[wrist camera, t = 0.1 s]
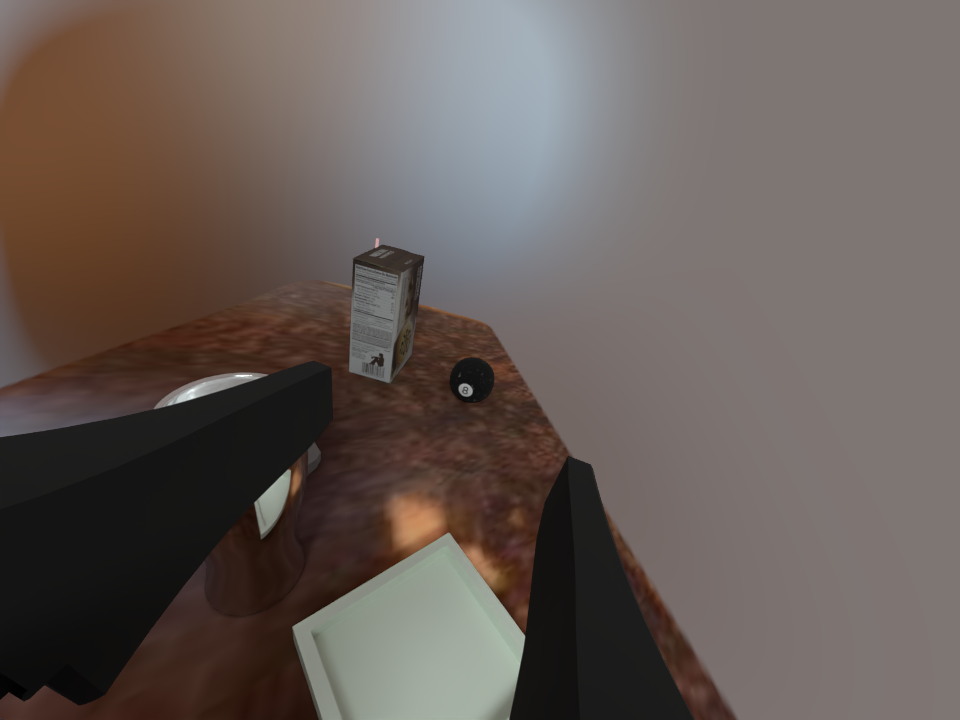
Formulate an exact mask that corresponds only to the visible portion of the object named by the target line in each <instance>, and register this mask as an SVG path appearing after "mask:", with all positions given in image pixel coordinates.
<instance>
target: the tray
mask: <svg viewBox="0 0 960 720" xmlns="http://www.w3.org/2000/svg"><path fill="white" fill-rule="evenodd" d="M292 628H293V640H294V643H295V646H296V649H297V652H298V655H299V659H300V662H301V665H302V668H303V671H304V674H305V677H306V680H307V683H308V687H309V690H310V693H311V696H312V699H313V702H314V705H315V708H316V712H317V715H318V718H319V720H509V718H510V713H511V708H512V704H513V699H514V694H515V689H516V684H517V679H518V674H519V669H520V664H521V659H522V654H523V648H524V641H525V635H524V634H523V633H522V631H521V630H520V629H519V627H518V626H517V624H516V623H515V622H514V620H513V619H512V618H511V616H510V615H509V614H508V612H507V611H506V609H505V608H504V607H503V605H502V604H501V603H500V601H499V600H498V599H497V597H496V596H495V594H494V593H493V592H492V590H491V589H490V588H489V586H488V585H487V584H486V582H485V581H484V579H483V578H482V577H481V575H480V574H479V573H478V571H477V570H476V568H475V567H474V566H473V564H472V563H471V562H470V560H469V559H468V558H467V556H466V555H465V553H464V552H463V551H462V549H461V548H460V547H459V545H458V544H457V543H456V541H455V540H454V538H453V537H452V536H451V534H450V533H447V534H445V535H444V536H442V537H440V538H439V539H437V540H435V541H434V542H432V543H431V544H429V545H427V546H426V547H424V548H422V549H421V550H419V551H417V552H416V553H414V554H412V555H411V556H409V557H407V558H406V559H404V560H402V561H401V562H399V563H397V564H396V565H394V566H392V567H391V568H389V569H387V570H386V571H384V572H382V573H381V574H379V575H377V576H376V577H374V578H372V579H371V580H369V581H368V582H366V583H364V584H363V585H361V586H359V587H358V588H356V589H354V590H353V591H351V592H349V593H348V594H346V595H344V596H343V597H341V598H339V599H338V600H336V601H334V602H333V603H331V604H329V605H328V606H326V607H324V608H323V609H321V610H319V611H318V612H316V613H314V614H313V615H311V616H309V617H308V618H306V619H304V620H303V621H301V622H300V623H298V624H296V625H295V626H293V627H292Z"/></svg>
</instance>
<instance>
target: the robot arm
mask: <svg viewBox="0 0 960 720" xmlns="http://www.w3.org/2000/svg"><path fill="white" fill-rule="evenodd" d="M332 419H333V406H332V375H331V367H329V366H326V365H323V364H321V363H318V362H315V361H311V362H307V363H304V364H301V365H297V366H294V367H291V368H288V369H285V370H282V371H279V372H276V373H273V374H270V375H267V376H264V377H261V378H258V379H255V380H252V381H249V382H246V383H243V384H240V385H237V386H234V387H231V388H228V389H224V390H221V391H218V392H214V393H211V394H208V395H204V396H201V397H197V398H194V399H191V400H187V401H184V402H180V403H177V404H173V405H169V406H165V407H161V408H157V409H153V410H149V411H144V412H140V413H136V414H131V415H127V416H123V417H118V418H113V419H108V420H102V421H97V422H92V423H86V424H81V425H75V426H70V427H65V428H59V429H54V430H47V431H41V432H34V433H28V434H21V435H14V436H7V437H0V699H2V698H3V697H4V696H5V695H6V694H7V693H8V692H9V693H11V694H13V695H14V696H16V697H18V698H19V699H21V700H23V701H26V700H28V699H30V698H31V697H32V696H33V695H34V694H35V693H36V692H37V691H38V690H40V689H41V688H42V687H43V686H44V685H45V686H47V687H49V688H50V689H52V690H54V691H55V692H57V693H59V694H60V695H62V696H64V697H65V698H67V699H69V700H71V701H72V702H74V703H76V704H77V705H83V704H87V703H89V702H91V701H94V700H96V699H98V698H100V697H102V696H103V695H105V694H106V692H107V691H108V690H109V688H110V687H111V685H112V684H113V682H114V681H115V679H116V678H117V676H118V675H119V673H120V672H121V671H122V669H123V668H124V666H125V665H126V664H127V662H128V661H129V659H130V658H131V657H132V655H133V654H134V652H135V651H136V650H137V648H138V647H139V645H140V644H141V642H142V641H143V640H144V638H145V637H146V635H147V634H148V633H149V631H150V630H151V628H152V627H153V626H154V625H155V623H156V622H157V621H158V619H159V618H160V617H161V615H162V614H163V613H164V611H165V610H166V609H167V607H168V606H169V605H170V603H171V602H172V601H173V599H174V598H175V597H176V595H177V594H178V593H179V591H180V590H181V589H182V587H183V586H184V585H185V584H186V582H187V581H188V580H189V579H190V577H191V576H192V575H193V574H194V572H195V571H196V570H197V569H198V567H199V566H200V565H201V564H202V563H203V561H204V560H205V559H206V558H207V556H208V555H209V554H210V553H211V551H212V550H213V549H214V548H215V547H216V545H217V544H218V543H219V542H220V541H221V539H222V538H223V537H224V536H225V535H226V534H227V532H228V531H229V530H230V529H231V528H232V526H233V525H234V524H235V523H236V522H237V521H238V519H239V518H240V517H241V516H242V515H243V514H244V513H245V512H246V511H247V510H248V509H249V508H250V507H251V506H252V505H253V504H254V503H255V502H256V501H257V500H258V499H259V498H260V497H261V496H262V495H263V494H264V493H265V492H266V491H267V490H268V489H269V488H270V487H271V486H272V485H273V484H274V483H275V482H276V481H277V480H278V479H279V478H280V477H281V476H282V475H283V474H284V473H285V472H286V471H287V470H288V469H289V468H290V467H291V466H292V465H293V464H294V463H295V462H296V461H297V460H298V459H299V458H300V457H301V456H302V455H303V454H304V453H305V452H306V451H307V450H308V449H309V448H310V447H311V446H312V445H313V443H314V442H315V441H316V440H317V438H318V437H319V436H320V435H321V433H322V432H323V431H324V429H325V428H326V427H327V425H328V424H329V423H330V421H331V420H332ZM0 720H2V719H0ZM509 720H695V719H694V717H693V715H692V713H691V712H690V710H689V708H688V706H687V704H686V702H685V701H684V699H683V697H682V695H681V693H680V691H679V689H678V687H677V685H676V683H675V681H674V679H673V677H672V675H671V673H670V671H669V669H668V667H667V665H666V663H665V661H664V659H663V657H662V655H661V653H660V651H659V649H658V646H657V644H656V642H655V640H654V638H653V636H652V633H651V631H650V629H649V627H648V625H647V623H646V620H645V618H644V616H643V613H642V611H641V609H640V607H639V604H638V602H637V599H636V597H635V595H634V592H633V590H632V587H631V585H630V582H629V580H628V577H627V575H626V572H625V569H624V567H623V564H622V561H621V559H620V556H619V553H618V550H617V547H616V544H615V542H614V539H613V536H612V533H611V530H610V527H609V524H608V521H607V518H606V515H605V511H604V508H603V504H602V501H601V498H600V494H599V491H598V487H597V483H596V479H595V475H594V472H593V468H592V466H591V465H590V464H588V463H585V462H583V461H580V460H577V459H575V458H572V457H569V456H568V457H567V459H566V461H565V463H564V465H563V467H562V469H561V471H560V473H559V475H558V477H557V479H556V481H555V483H554V485H553V487H552V489H551V491H550V493H549V495H548V497H547V499H546V501H545V504H544V508H543V513H542V517H541V521H540V526H539V530H538V535H537V540H536V548H535V557H534V565H533V574H532V583H531V592H530V601H529V610H528V618H527V627H526V634H525V641H524V648H523V654H522V659H521V664H520V669H519V674H518V679H517V684H516V689H515V694H514V699H513V704H512V708H511V713H510V718H509Z"/></svg>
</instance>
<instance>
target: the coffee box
mask: <svg viewBox="0 0 960 720" xmlns="http://www.w3.org/2000/svg"><path fill="white" fill-rule="evenodd" d="M423 263H424V256H422V255H417V254H413V253H410V252H408V251H405V250H402V249H398V248H395V247H391V246H386V245H381V246H379V247H376V248H374V249H372V250H370V251H368V252H365V253H364V254H361V255H359V256H357V257H355V258H353V278H352V306H351V332H350V356H349V372H352V373H355V374H359V375H363V376H366V377H370V378H373V379H377V380H380V381H384V382H387V383H391V382H392V381H393V379H394V378H395V377H396V375H397V374H398V372H399V371H400V370H401V368H402V367H403V366H404V364H405V363H406V362H407V360H408V359H409V358H410V356H411V355H412V349H413V341H414V333H415V325H416V317H417V310H418V303H419V295H420V286H421V279H422V271H423Z"/></svg>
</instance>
